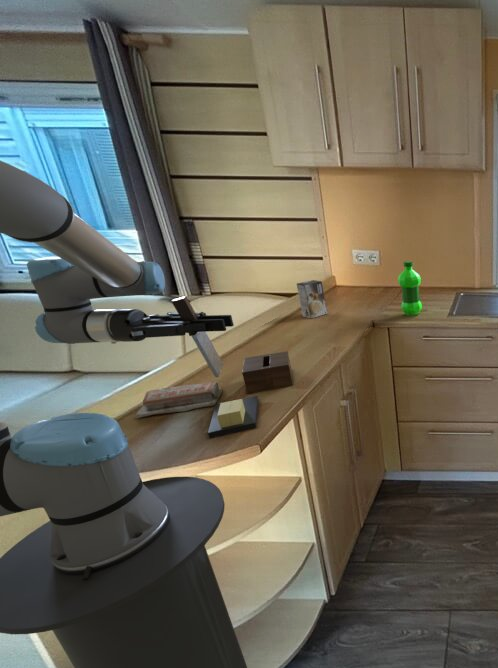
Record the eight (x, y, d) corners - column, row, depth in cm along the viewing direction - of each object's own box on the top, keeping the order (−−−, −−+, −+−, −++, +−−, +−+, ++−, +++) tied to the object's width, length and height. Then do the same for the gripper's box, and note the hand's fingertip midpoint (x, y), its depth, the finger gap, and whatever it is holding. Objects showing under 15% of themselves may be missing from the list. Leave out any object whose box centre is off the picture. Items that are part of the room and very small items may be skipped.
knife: (223, 375, 97) (180, 301, 89) (212, 379, 96) (168, 304, 88) (227, 363, 104) (188, 293, 96) (217, 367, 103) (176, 296, 95)
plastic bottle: (397, 316, 192) (392, 263, 183) (407, 310, 201) (403, 259, 192) (417, 317, 190) (413, 264, 181) (426, 311, 199) (422, 260, 190)
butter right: (243, 423, 102) (239, 410, 101) (232, 425, 101) (228, 413, 100) (245, 410, 108) (242, 398, 107) (234, 412, 107) (231, 400, 106)
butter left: (232, 425, 101) (228, 413, 100) (220, 428, 100) (217, 415, 99) (234, 412, 107) (231, 400, 106) (223, 414, 106) (220, 402, 104)
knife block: (292, 385, 125) (288, 364, 122) (247, 393, 120) (241, 372, 117) (291, 370, 135) (287, 351, 132) (249, 377, 130) (244, 357, 127)
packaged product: (219, 376, 120) (211, 391, 111) (223, 390, 121) (215, 406, 113) (144, 386, 113) (129, 403, 105) (149, 402, 115) (135, 419, 106)
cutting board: (256, 427, 103) (255, 422, 102) (209, 438, 99) (207, 432, 98) (258, 400, 116) (257, 395, 116) (217, 408, 112) (215, 403, 111)
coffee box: (319, 311, 198) (314, 279, 192) (327, 314, 195) (322, 281, 189) (302, 316, 191) (296, 283, 185) (310, 318, 188) (304, 284, 182)
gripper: (150, 329, 102) (247, 327, 104) (98, 353, 88) (213, 349, 90) (141, 301, 99) (241, 298, 101) (86, 320, 85) (204, 317, 87)
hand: (227, 322), depth 95 cm, fingers closed on knife, 3 cm apart
